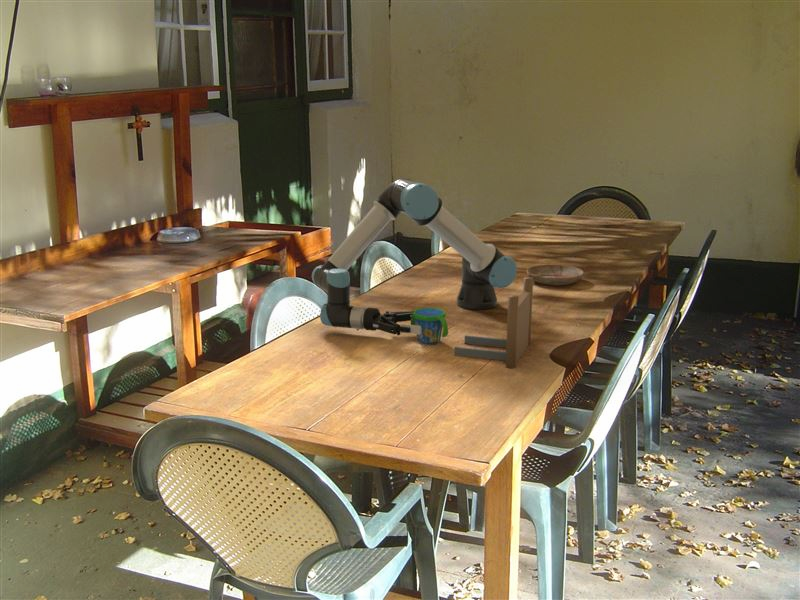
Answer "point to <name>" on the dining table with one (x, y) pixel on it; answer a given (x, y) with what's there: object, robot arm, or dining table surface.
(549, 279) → the ceramic bowl
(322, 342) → the dining table surface
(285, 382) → the dining table surface
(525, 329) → the headboard cradle
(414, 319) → the snack cup
